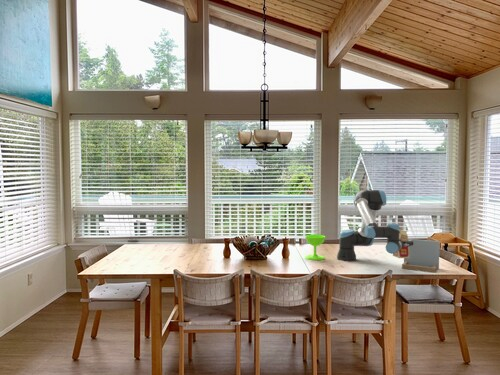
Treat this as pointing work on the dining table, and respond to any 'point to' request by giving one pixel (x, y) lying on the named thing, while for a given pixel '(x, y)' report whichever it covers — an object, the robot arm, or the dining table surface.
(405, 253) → the milk carton
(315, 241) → the wineglass
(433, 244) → the wall board
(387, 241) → the robot arm
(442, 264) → the dining table surface
